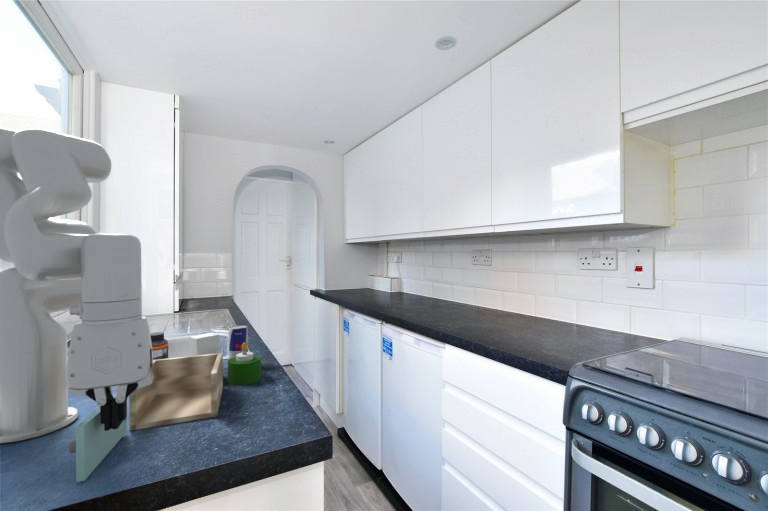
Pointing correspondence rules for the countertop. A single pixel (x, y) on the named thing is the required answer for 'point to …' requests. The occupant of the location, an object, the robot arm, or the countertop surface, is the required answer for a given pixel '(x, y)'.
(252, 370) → the candle
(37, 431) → the robot arm
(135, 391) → the crate
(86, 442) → the door
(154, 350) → the supplement bottle
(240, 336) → the energy drink
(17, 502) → the countertop surface
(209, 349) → the skincare box
